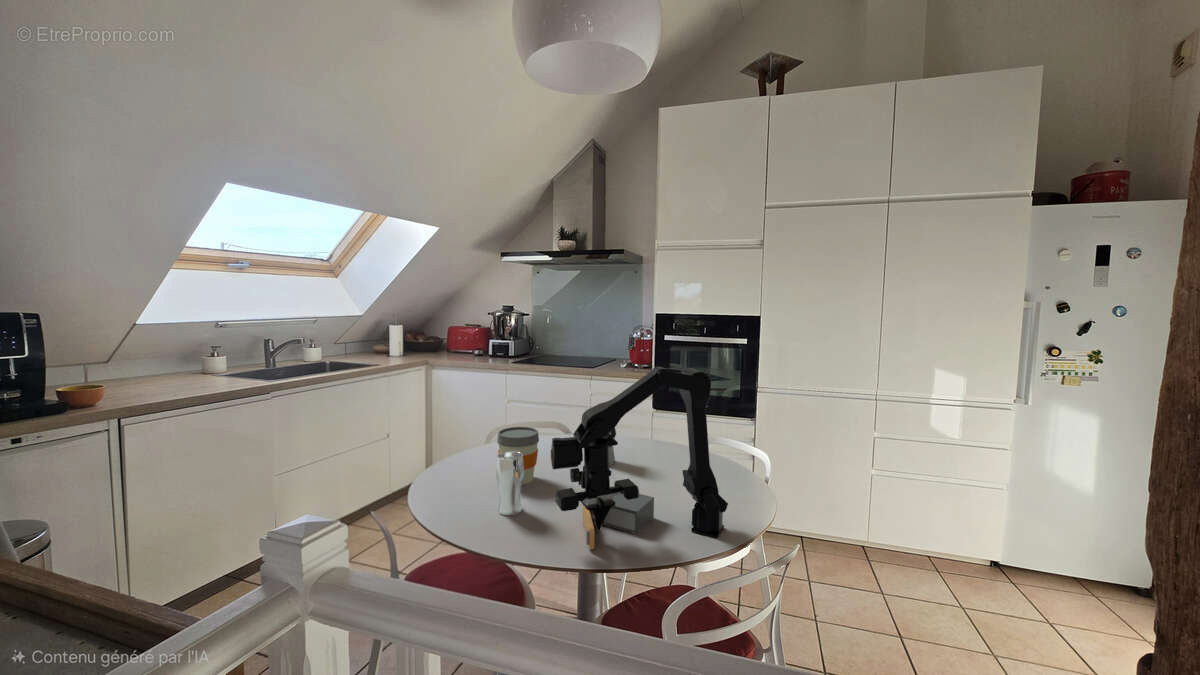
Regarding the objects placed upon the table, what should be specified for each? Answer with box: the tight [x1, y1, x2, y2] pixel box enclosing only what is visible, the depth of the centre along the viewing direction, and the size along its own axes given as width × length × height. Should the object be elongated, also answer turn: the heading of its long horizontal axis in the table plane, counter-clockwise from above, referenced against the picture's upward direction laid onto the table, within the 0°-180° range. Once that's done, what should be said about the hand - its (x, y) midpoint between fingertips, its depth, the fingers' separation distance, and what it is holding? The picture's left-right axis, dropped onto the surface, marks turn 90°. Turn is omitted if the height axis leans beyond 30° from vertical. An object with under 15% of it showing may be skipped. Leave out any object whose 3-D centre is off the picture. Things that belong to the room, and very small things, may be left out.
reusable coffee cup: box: [497, 426, 540, 486], centre depth 150 cm, size 13×13×15 cm
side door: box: [581, 503, 595, 550], centre depth 116 cm, size 15×2×5 cm, turn 8°
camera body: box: [589, 493, 655, 535], centre depth 126 cm, size 14×12×6 cm
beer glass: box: [496, 451, 524, 517], centre depth 129 cm, size 7×7×15 cm
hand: (598, 529), depth 114 cm, fingers closed
